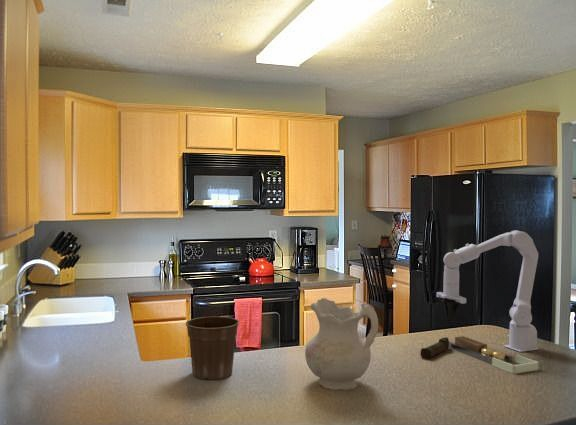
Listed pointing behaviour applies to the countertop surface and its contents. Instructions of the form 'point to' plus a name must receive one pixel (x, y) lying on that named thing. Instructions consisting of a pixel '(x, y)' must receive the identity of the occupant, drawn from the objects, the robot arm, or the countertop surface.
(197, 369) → the plant pot
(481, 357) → the slot rails
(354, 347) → the ceramic pitcher
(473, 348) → the long wooden beam
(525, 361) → the tray
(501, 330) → the countertop surface
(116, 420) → the countertop surface
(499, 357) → the chip
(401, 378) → the countertop surface
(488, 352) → the chip
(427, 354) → the brown wooden log
